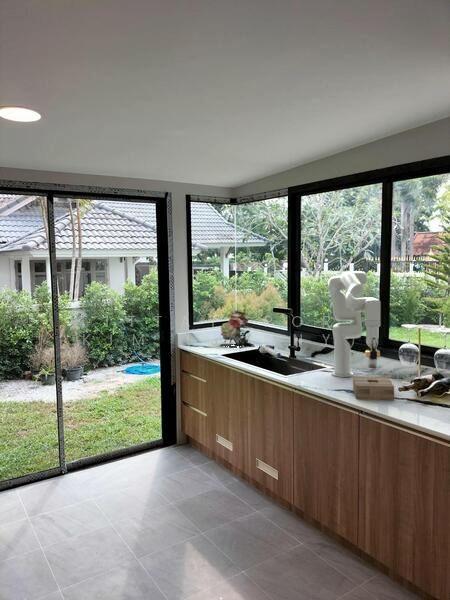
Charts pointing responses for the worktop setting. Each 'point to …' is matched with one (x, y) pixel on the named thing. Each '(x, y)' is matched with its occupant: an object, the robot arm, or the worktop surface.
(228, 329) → the rose bouquet
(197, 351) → the worktop surface
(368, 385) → the hitch block
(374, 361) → the pin
